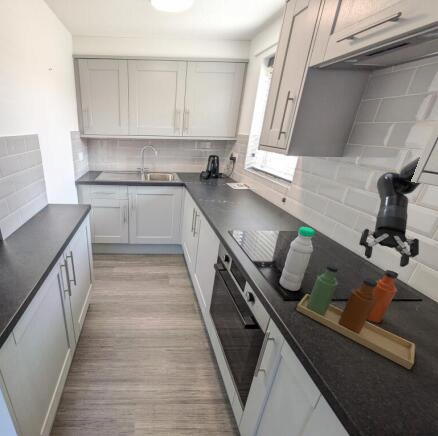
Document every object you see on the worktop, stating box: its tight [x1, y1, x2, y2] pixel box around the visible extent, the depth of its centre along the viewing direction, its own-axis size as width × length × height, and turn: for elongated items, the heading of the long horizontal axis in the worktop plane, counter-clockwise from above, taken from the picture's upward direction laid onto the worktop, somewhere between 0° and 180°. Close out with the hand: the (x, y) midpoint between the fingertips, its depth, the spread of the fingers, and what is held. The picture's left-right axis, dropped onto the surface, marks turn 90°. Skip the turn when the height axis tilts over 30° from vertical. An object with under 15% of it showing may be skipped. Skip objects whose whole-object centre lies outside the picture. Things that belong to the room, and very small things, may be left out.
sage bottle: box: [307, 263, 339, 316], centre depth 75 cm, size 5×5×18 cm
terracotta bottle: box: [366, 269, 399, 323], centre depth 74 cm, size 5×5×18 cm
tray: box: [295, 293, 416, 370], centre depth 72 cm, size 27×9×2 cm, turn 41°
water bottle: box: [279, 226, 315, 292], centre depth 87 cm, size 7×7×25 cm
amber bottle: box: [338, 277, 377, 334], centre depth 69 cm, size 5×5×18 cm
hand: (385, 261), depth 78 cm, fingers open, 8 cm apart
